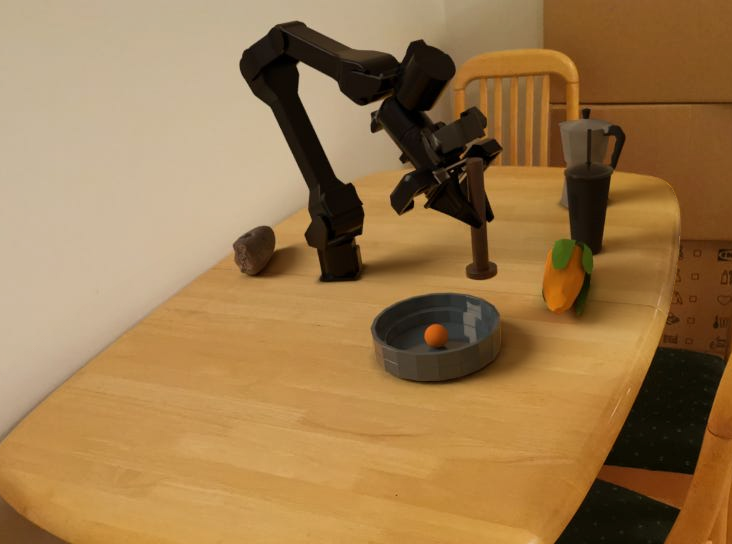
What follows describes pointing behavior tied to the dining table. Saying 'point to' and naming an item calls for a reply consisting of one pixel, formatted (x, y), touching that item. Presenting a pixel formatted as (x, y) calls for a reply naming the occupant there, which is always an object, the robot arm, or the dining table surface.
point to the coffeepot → (577, 142)
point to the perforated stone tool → (254, 249)
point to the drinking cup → (588, 199)
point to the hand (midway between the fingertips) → (486, 223)
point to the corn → (567, 275)
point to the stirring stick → (476, 197)
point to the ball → (436, 336)
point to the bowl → (454, 359)
